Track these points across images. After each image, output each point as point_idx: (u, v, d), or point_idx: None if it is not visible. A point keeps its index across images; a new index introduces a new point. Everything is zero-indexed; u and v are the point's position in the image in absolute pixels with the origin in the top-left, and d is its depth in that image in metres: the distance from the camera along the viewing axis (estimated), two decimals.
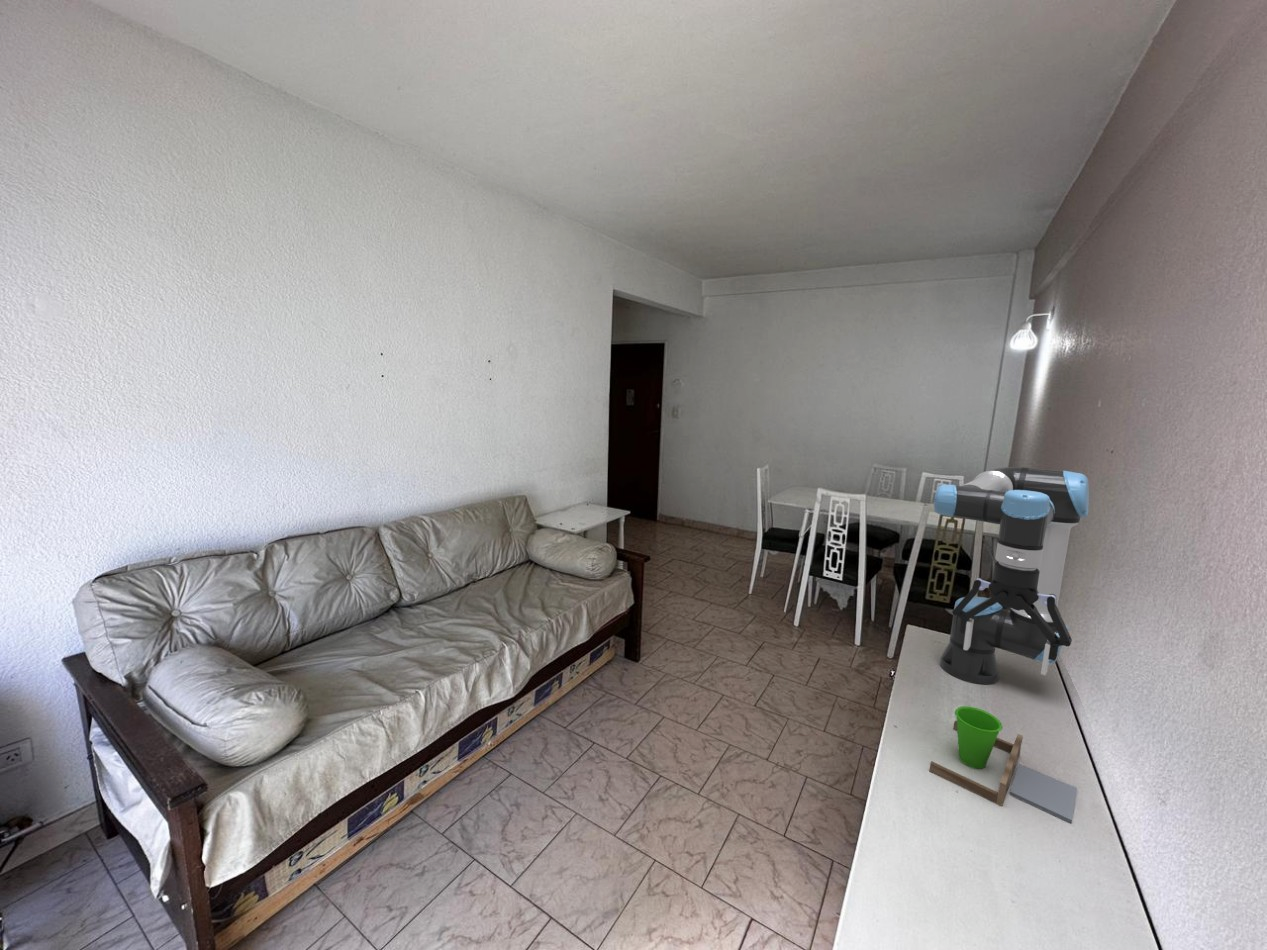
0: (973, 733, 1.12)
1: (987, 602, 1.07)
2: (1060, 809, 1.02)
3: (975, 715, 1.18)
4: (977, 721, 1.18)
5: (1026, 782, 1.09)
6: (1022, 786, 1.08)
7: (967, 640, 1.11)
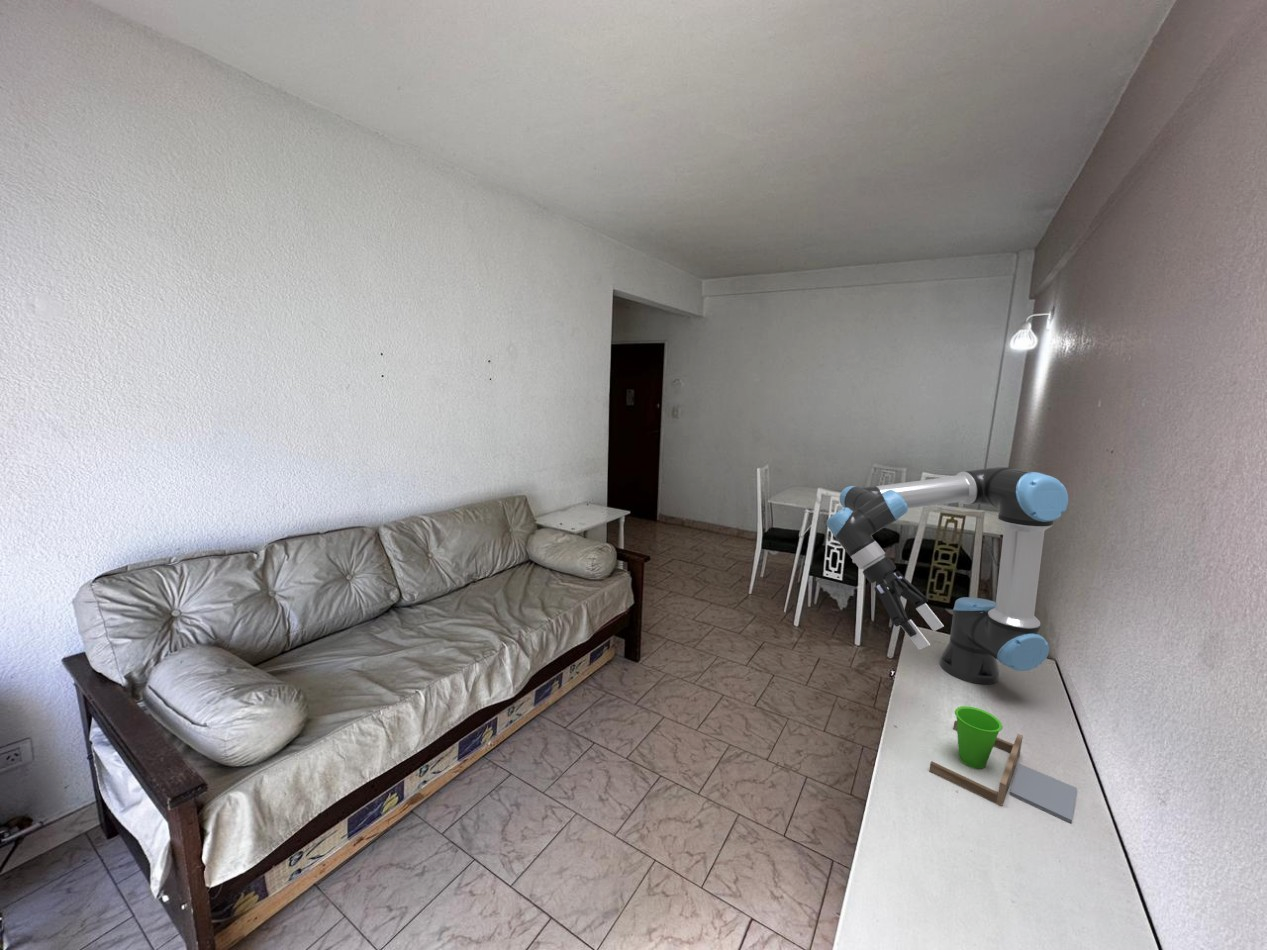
0: (973, 733, 1.12)
1: None
2: (1060, 809, 1.02)
3: (975, 715, 1.18)
4: (977, 721, 1.18)
5: (1026, 782, 1.09)
6: (1022, 786, 1.08)
7: None
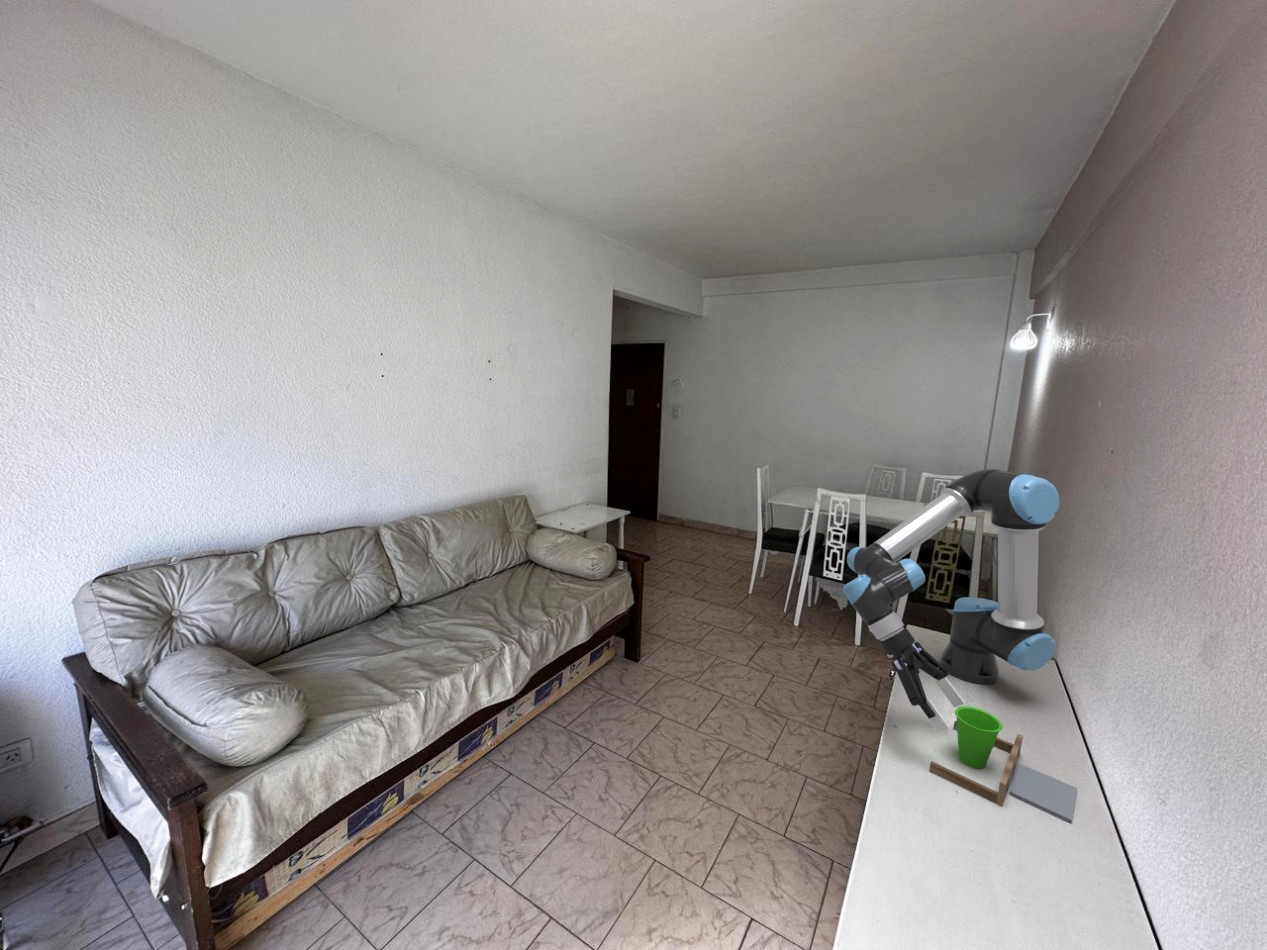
0: (973, 733, 1.12)
1: None
2: (1060, 809, 1.02)
3: (975, 715, 1.18)
4: (977, 721, 1.18)
5: (1026, 782, 1.09)
6: (1022, 786, 1.08)
7: None
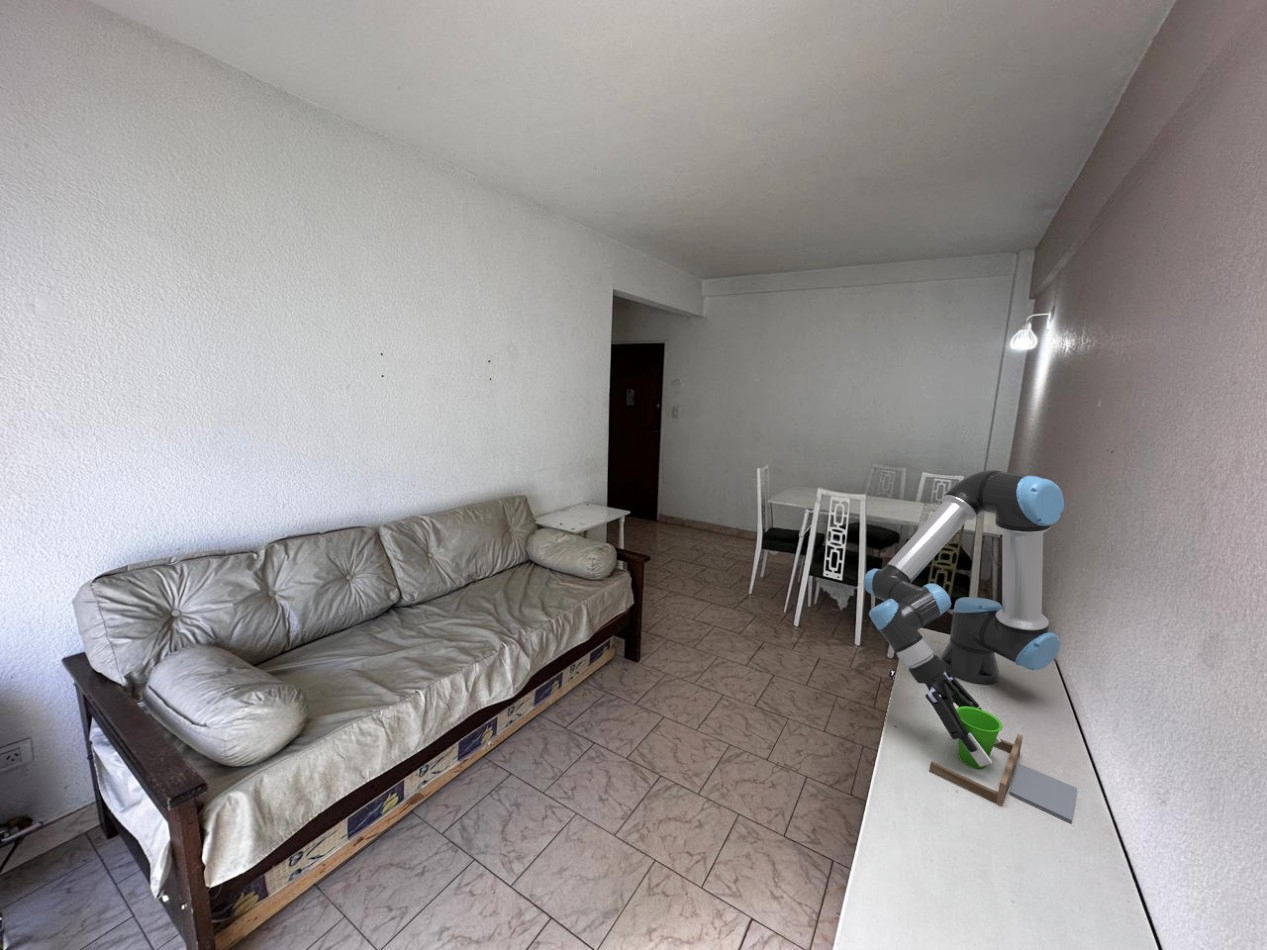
0: (973, 733, 1.12)
1: None
2: (1060, 809, 1.02)
3: (975, 715, 1.18)
4: (977, 721, 1.18)
5: (1026, 782, 1.09)
6: (1022, 786, 1.08)
7: None
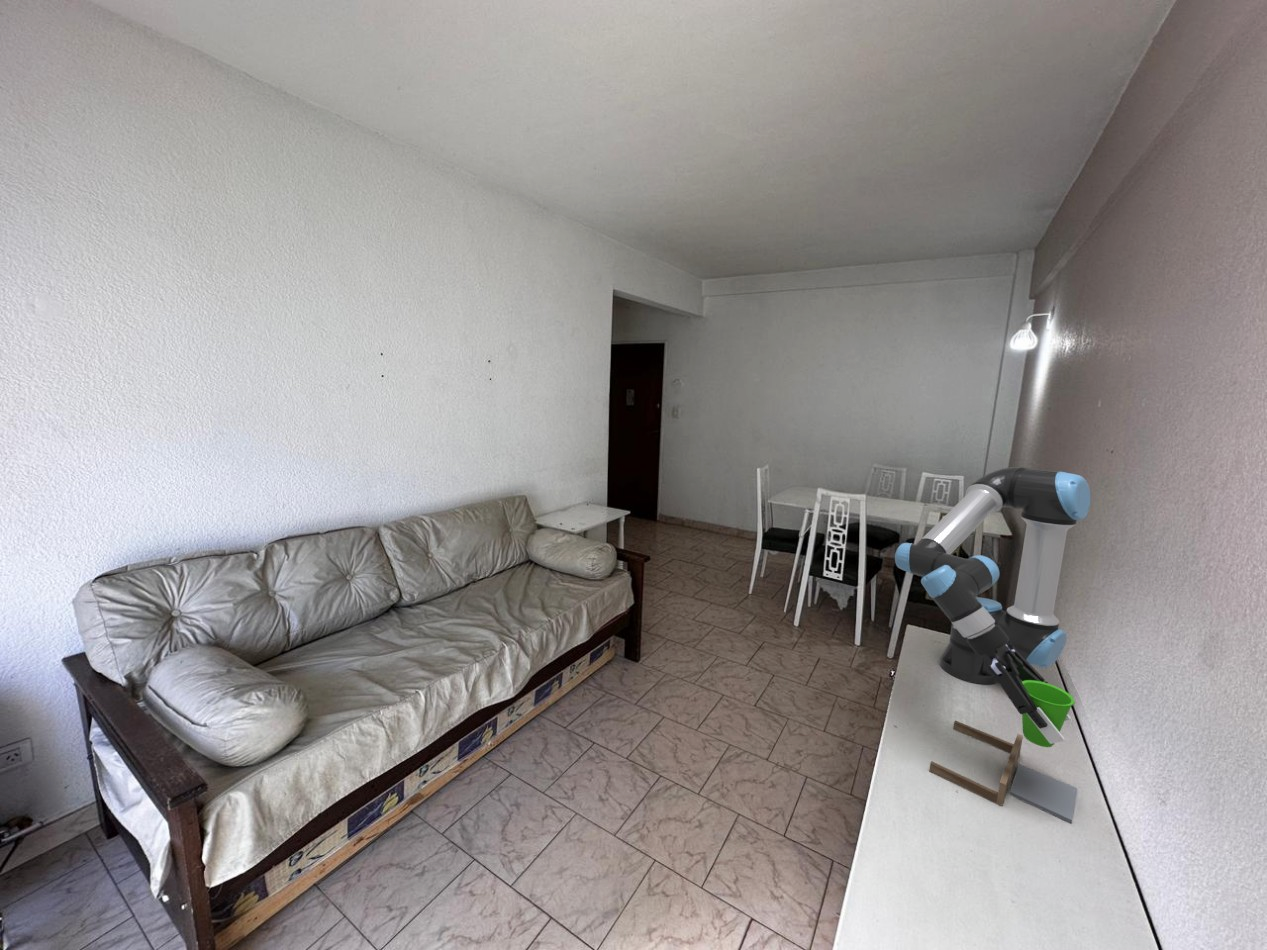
0: (1042, 708, 1.02)
1: None
2: (1060, 809, 1.02)
3: (1041, 690, 1.08)
4: (1043, 696, 1.08)
5: (1026, 782, 1.09)
6: (1022, 786, 1.08)
7: None
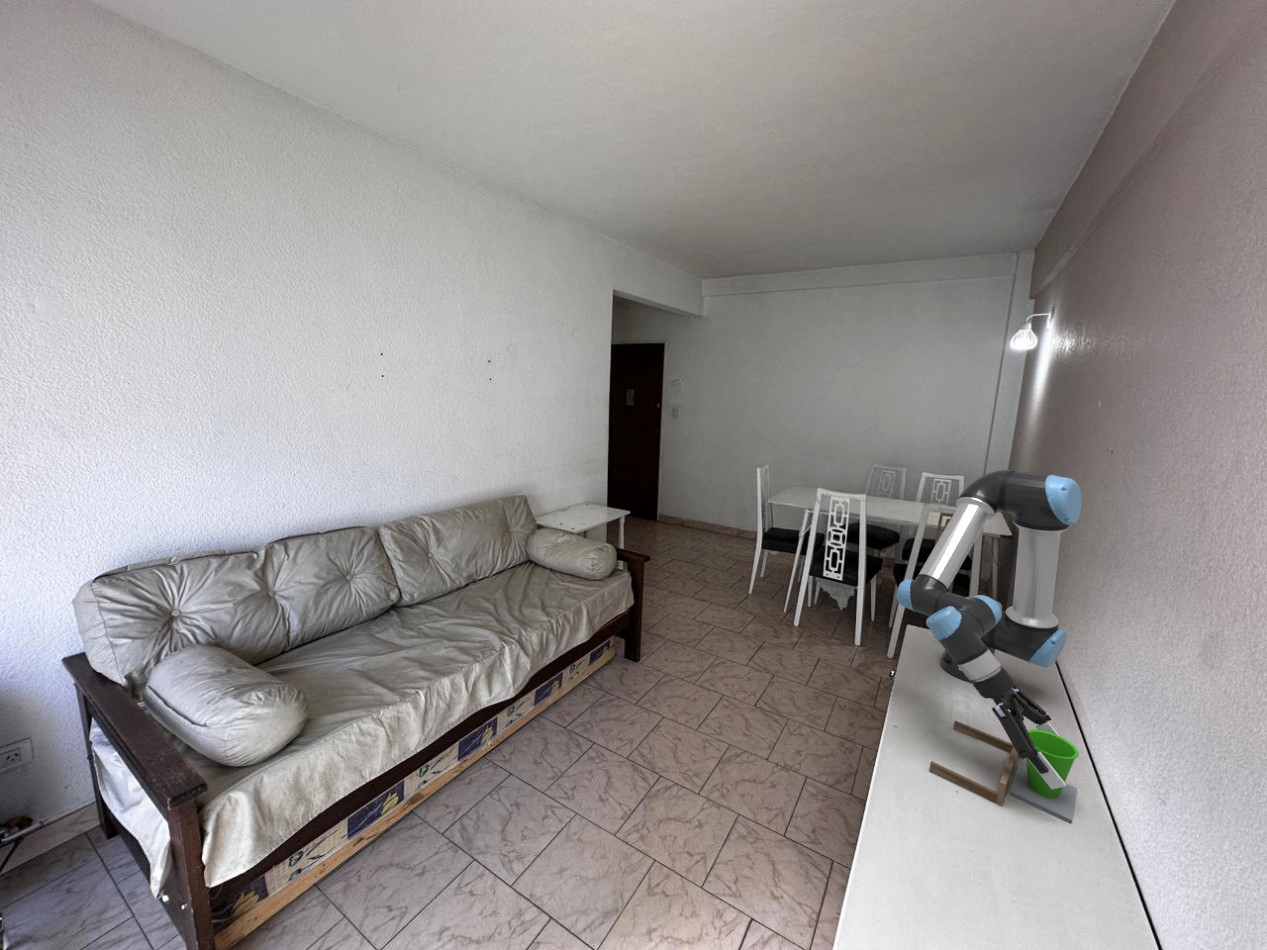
0: (1047, 760, 1.03)
1: None
2: (1060, 809, 1.02)
3: (1045, 739, 1.09)
4: (1047, 745, 1.09)
5: (1026, 782, 1.09)
6: (1022, 786, 1.08)
7: None
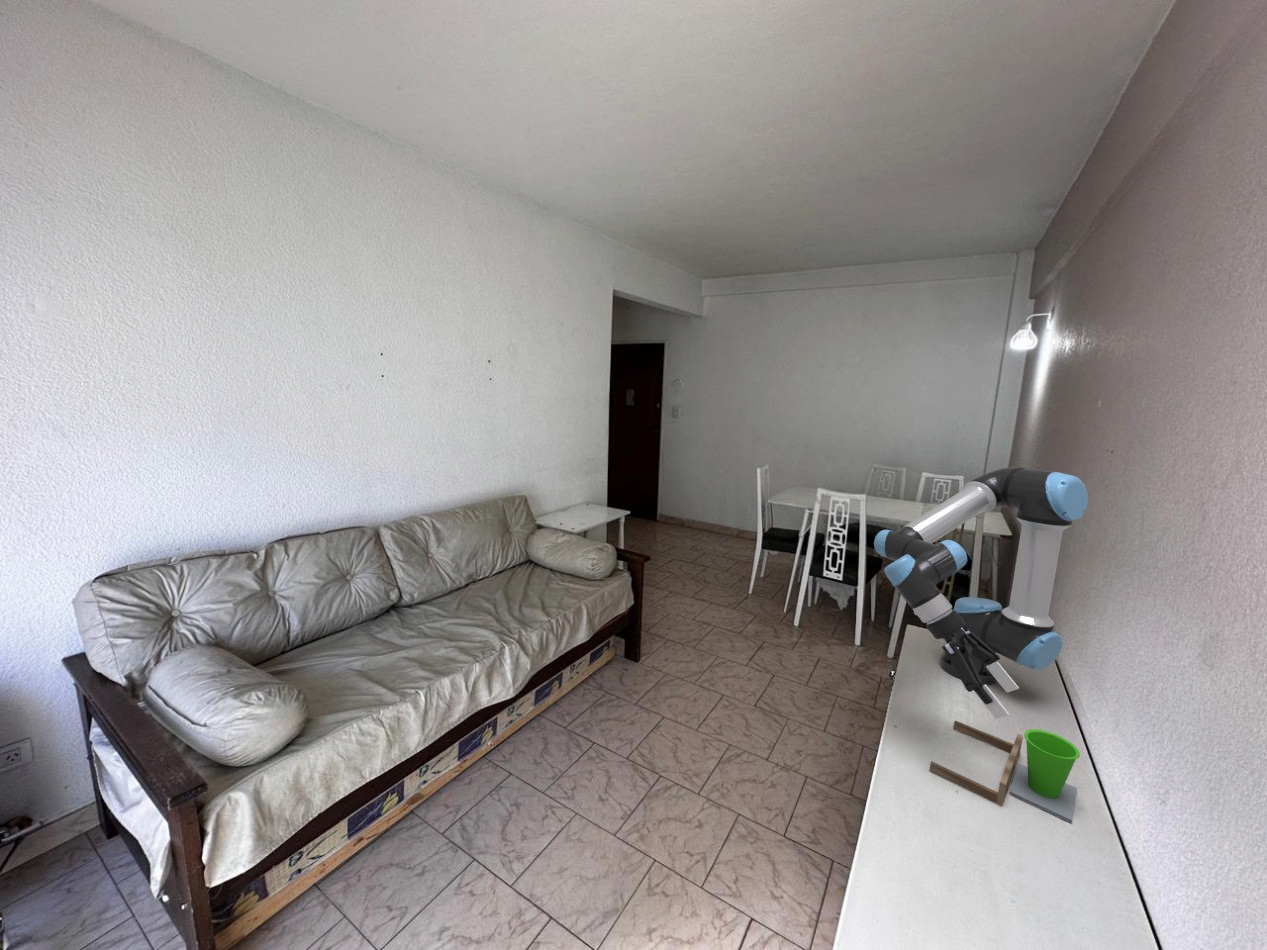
0: (1048, 760, 1.03)
1: None
2: (1060, 809, 1.02)
3: (1046, 739, 1.09)
4: (1048, 746, 1.09)
5: (1026, 782, 1.09)
6: (1022, 786, 1.08)
7: None
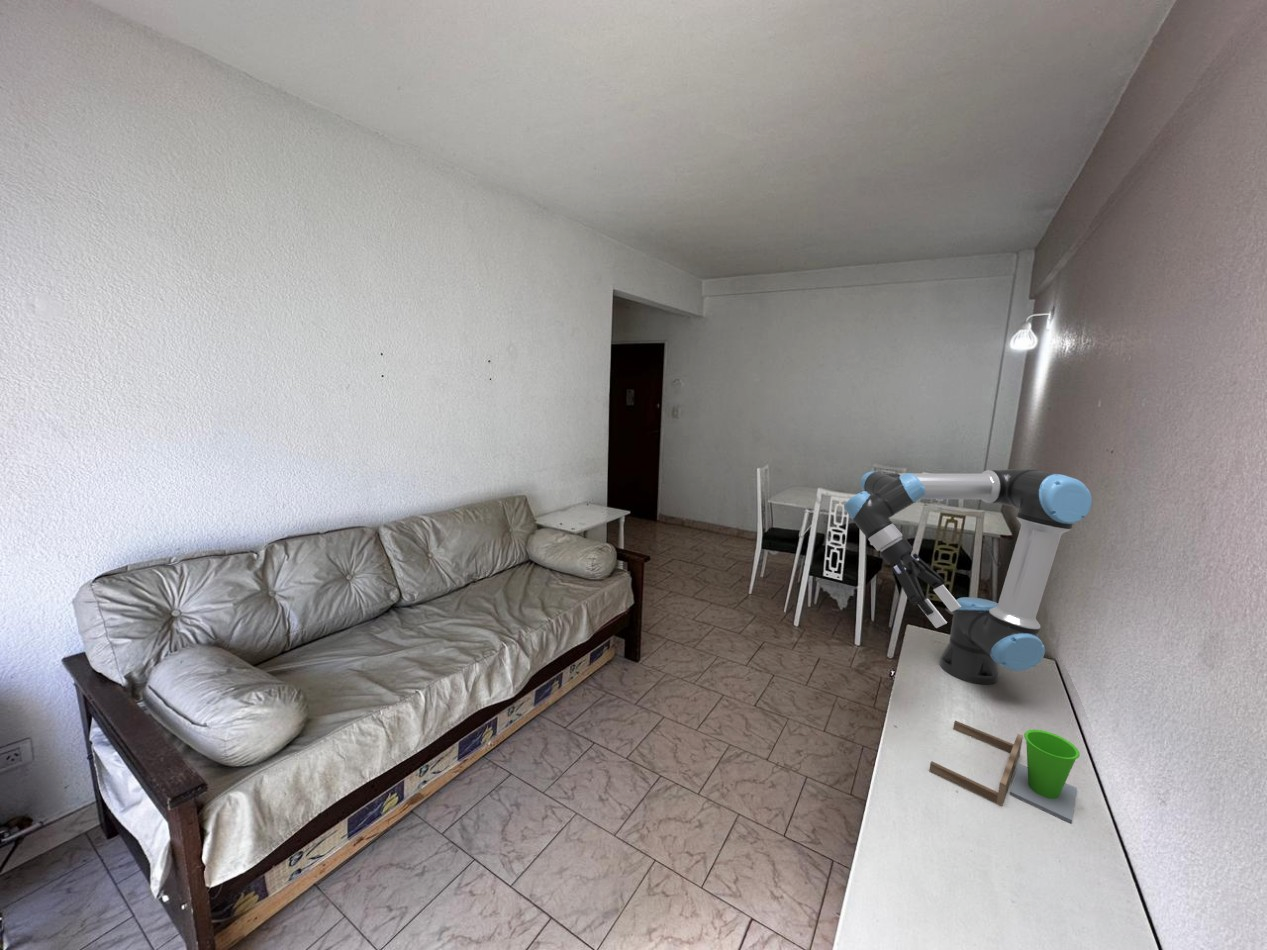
0: (1048, 760, 1.03)
1: None
2: (1060, 809, 1.02)
3: (1045, 739, 1.09)
4: (1047, 746, 1.09)
5: (1026, 782, 1.09)
6: (1022, 786, 1.08)
7: None
